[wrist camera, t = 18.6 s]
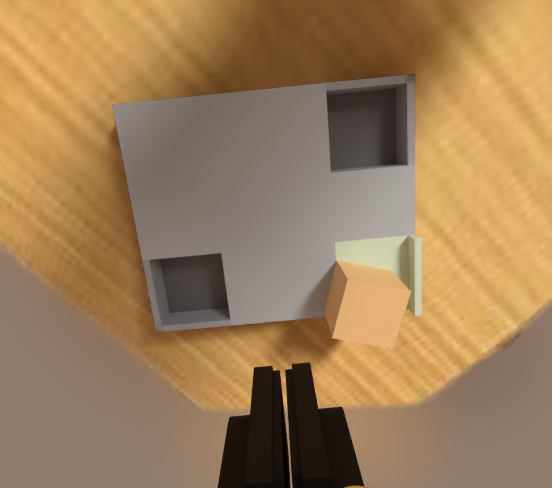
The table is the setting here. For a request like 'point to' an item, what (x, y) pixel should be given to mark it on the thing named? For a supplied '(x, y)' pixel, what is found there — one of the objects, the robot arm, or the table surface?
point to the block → (365, 304)
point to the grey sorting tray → (270, 197)
